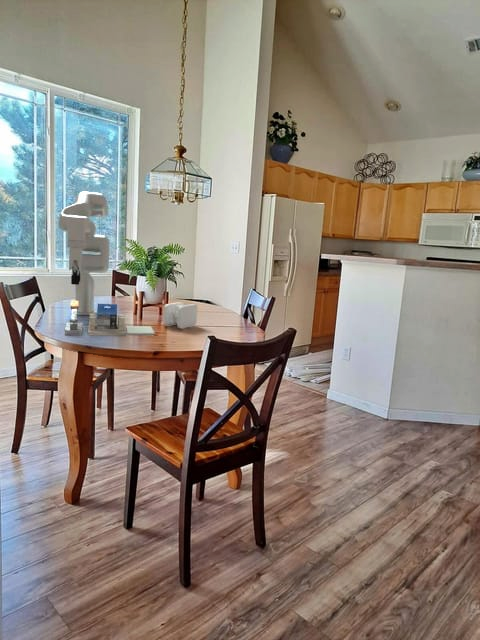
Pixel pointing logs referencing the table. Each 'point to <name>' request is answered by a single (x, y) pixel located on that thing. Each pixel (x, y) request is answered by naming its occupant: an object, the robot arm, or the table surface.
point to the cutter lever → (74, 311)
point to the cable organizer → (180, 315)
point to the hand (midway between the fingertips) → (75, 282)
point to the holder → (94, 331)
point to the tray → (139, 330)
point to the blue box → (107, 316)
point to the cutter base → (74, 332)
